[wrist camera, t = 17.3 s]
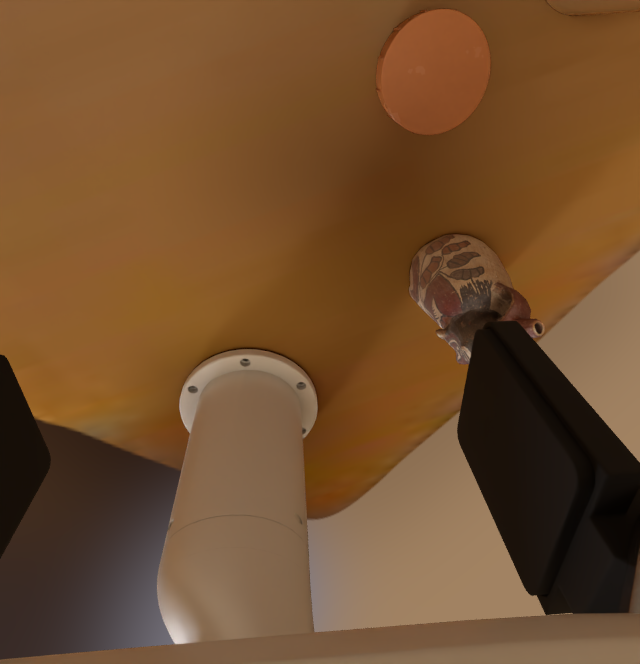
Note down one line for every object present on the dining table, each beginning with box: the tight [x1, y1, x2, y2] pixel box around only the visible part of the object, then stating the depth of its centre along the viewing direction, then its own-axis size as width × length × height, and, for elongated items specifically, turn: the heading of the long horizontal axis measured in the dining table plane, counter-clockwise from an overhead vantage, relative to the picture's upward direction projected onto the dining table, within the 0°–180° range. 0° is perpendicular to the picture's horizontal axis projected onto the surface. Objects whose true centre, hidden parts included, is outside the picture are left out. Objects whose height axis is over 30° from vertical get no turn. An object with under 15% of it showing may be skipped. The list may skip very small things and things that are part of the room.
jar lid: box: [376, 9, 491, 135], centre depth 29 cm, size 7×7×2 cm
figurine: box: [409, 234, 545, 364], centre depth 33 cm, size 7×7×12 cm
